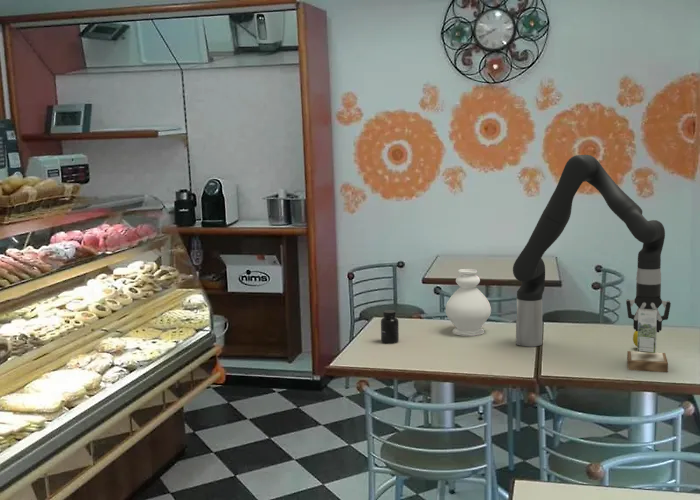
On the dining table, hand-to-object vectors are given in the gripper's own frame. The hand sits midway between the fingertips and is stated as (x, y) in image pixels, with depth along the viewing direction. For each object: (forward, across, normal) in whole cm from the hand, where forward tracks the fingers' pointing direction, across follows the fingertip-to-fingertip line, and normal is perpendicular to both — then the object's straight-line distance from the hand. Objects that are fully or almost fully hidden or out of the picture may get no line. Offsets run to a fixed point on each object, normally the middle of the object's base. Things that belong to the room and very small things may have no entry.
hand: (647, 331), depth 255 cm
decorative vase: (+12, -65, +33) cm, 74 cm away
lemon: (+12, -1, +20) cm, 23 cm away
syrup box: (+7, 0, 0) cm, 7 cm away
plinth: (+12, 0, 0) cm, 12 cm away
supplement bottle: (+12, -92, +13) cm, 94 cm away
